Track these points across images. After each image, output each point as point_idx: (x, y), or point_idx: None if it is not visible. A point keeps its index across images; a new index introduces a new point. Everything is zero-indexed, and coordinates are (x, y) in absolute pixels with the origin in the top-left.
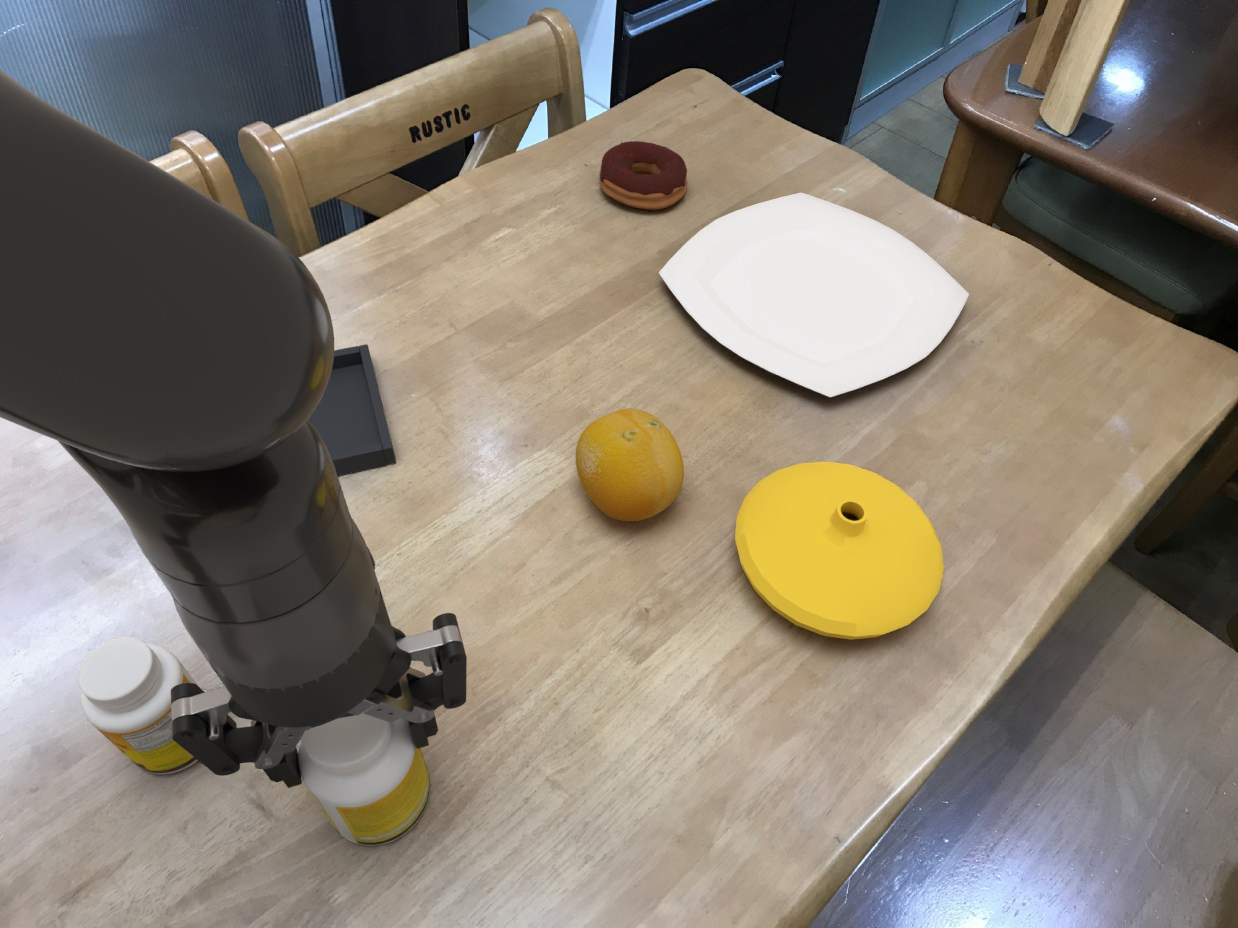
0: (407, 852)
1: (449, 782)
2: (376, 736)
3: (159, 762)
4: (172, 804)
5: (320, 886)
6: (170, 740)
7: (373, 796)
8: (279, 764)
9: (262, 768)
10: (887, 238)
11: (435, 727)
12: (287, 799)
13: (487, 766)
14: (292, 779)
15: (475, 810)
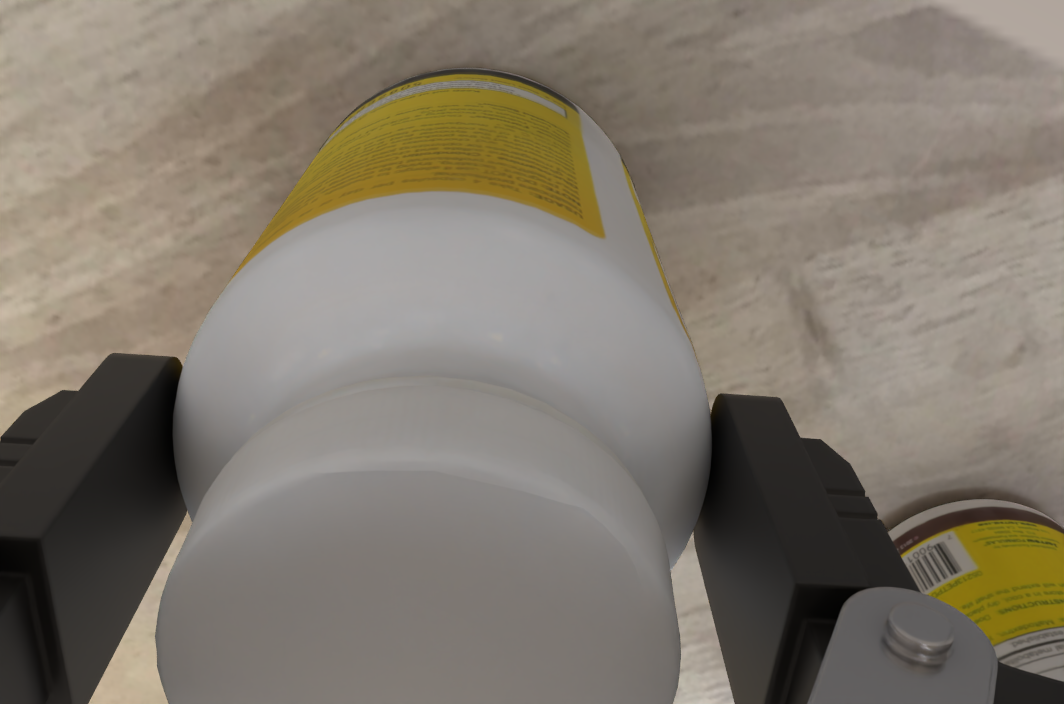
0: (430, 15)
1: (251, 186)
2: (239, 554)
3: (1055, 559)
4: (1028, 419)
5: (725, 22)
6: (1039, 635)
7: (410, 215)
8: (834, 582)
9: (940, 605)
10: None
11: (12, 435)
12: (739, 320)
13: (116, 189)
14: (761, 438)
15: (178, 62)
